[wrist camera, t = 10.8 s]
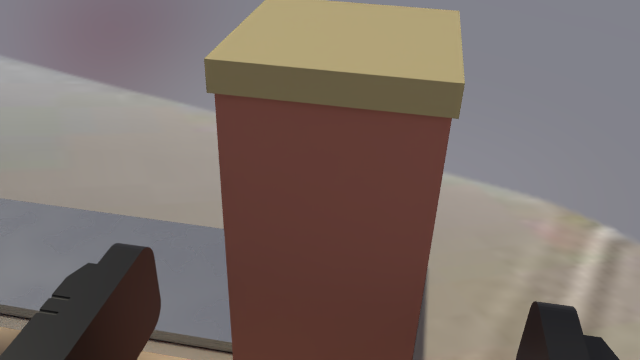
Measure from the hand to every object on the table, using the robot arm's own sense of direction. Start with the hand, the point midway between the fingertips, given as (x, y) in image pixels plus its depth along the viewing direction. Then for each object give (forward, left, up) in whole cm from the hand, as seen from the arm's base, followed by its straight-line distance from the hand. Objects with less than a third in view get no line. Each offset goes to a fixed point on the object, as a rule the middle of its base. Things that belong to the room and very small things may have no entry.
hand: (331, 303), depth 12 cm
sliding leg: (-1, +1, -6) cm, 7 cm away
